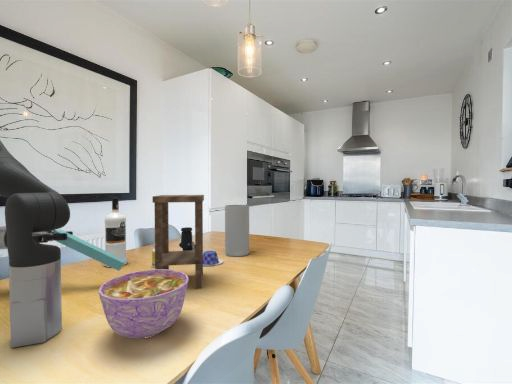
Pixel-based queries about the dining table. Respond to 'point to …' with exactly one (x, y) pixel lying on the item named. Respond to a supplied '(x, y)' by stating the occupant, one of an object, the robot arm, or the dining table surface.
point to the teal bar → (91, 251)
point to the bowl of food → (143, 301)
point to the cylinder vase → (236, 230)
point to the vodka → (116, 232)
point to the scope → (187, 239)
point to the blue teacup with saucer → (211, 258)
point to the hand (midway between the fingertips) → (69, 235)
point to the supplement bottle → (153, 257)
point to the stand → (162, 236)
